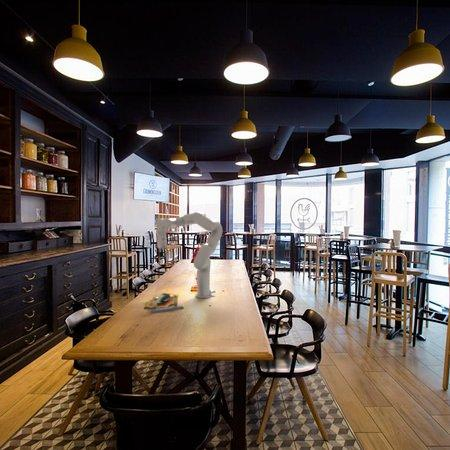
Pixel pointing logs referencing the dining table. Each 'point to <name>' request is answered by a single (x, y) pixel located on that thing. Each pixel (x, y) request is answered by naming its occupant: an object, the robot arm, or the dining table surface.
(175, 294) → the post
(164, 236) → the robot arm
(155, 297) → the post
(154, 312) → the wall strip
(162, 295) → the decorative plaque
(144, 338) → the dining table surface
